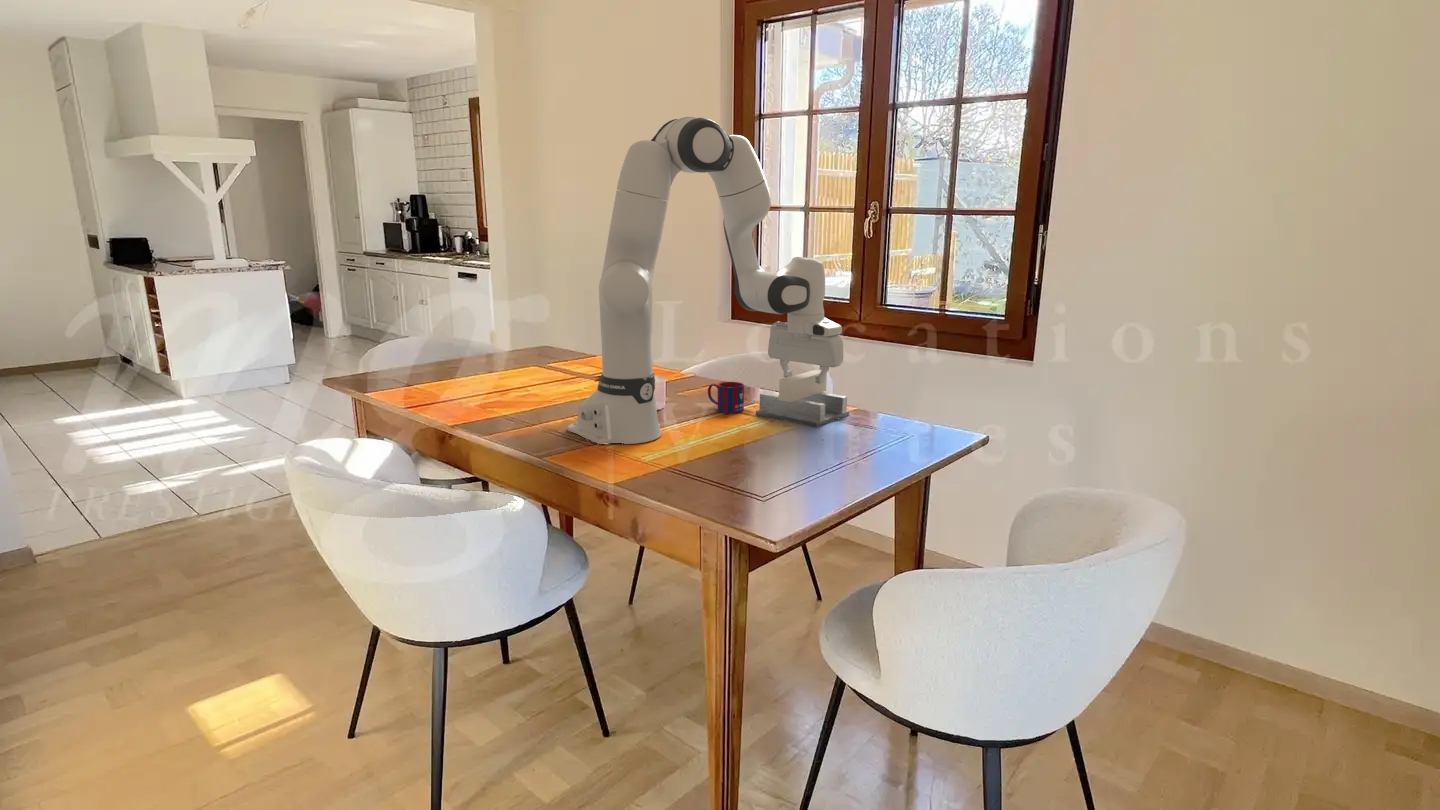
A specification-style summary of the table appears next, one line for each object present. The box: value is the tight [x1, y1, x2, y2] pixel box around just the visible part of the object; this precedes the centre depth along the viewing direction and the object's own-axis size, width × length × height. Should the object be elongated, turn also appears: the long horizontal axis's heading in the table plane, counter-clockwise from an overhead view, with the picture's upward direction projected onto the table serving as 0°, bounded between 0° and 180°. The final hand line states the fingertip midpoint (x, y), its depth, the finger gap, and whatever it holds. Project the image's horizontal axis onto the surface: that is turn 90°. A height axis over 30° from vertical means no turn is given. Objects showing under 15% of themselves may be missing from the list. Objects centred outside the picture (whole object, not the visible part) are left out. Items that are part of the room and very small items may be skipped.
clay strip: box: [778, 369, 828, 402], centre depth 193 cm, size 4×16×5 cm, turn 141°
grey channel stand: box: [755, 391, 851, 428], centre depth 195 cm, size 18×15×5 cm
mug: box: [707, 381, 745, 415], centre depth 199 cm, size 7×10×7 cm
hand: (803, 380), depth 193 cm, fingers open, 8 cm apart
